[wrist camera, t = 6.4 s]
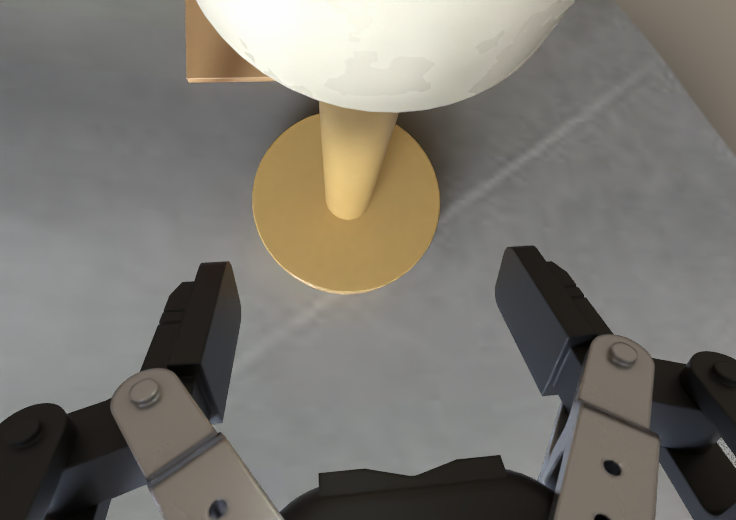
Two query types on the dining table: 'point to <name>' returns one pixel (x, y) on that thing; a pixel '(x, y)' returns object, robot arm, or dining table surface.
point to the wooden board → (213, 53)
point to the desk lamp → (367, 119)
